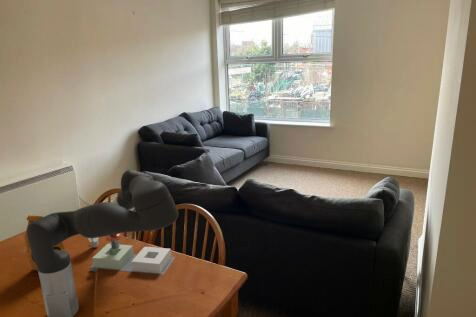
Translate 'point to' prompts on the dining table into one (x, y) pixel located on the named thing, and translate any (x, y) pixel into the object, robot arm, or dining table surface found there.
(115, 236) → the red flanged grey peg
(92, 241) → the light bulb
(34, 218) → the coffee package
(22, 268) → the dining table surface
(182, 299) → the dining table surface
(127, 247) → the square hole base
